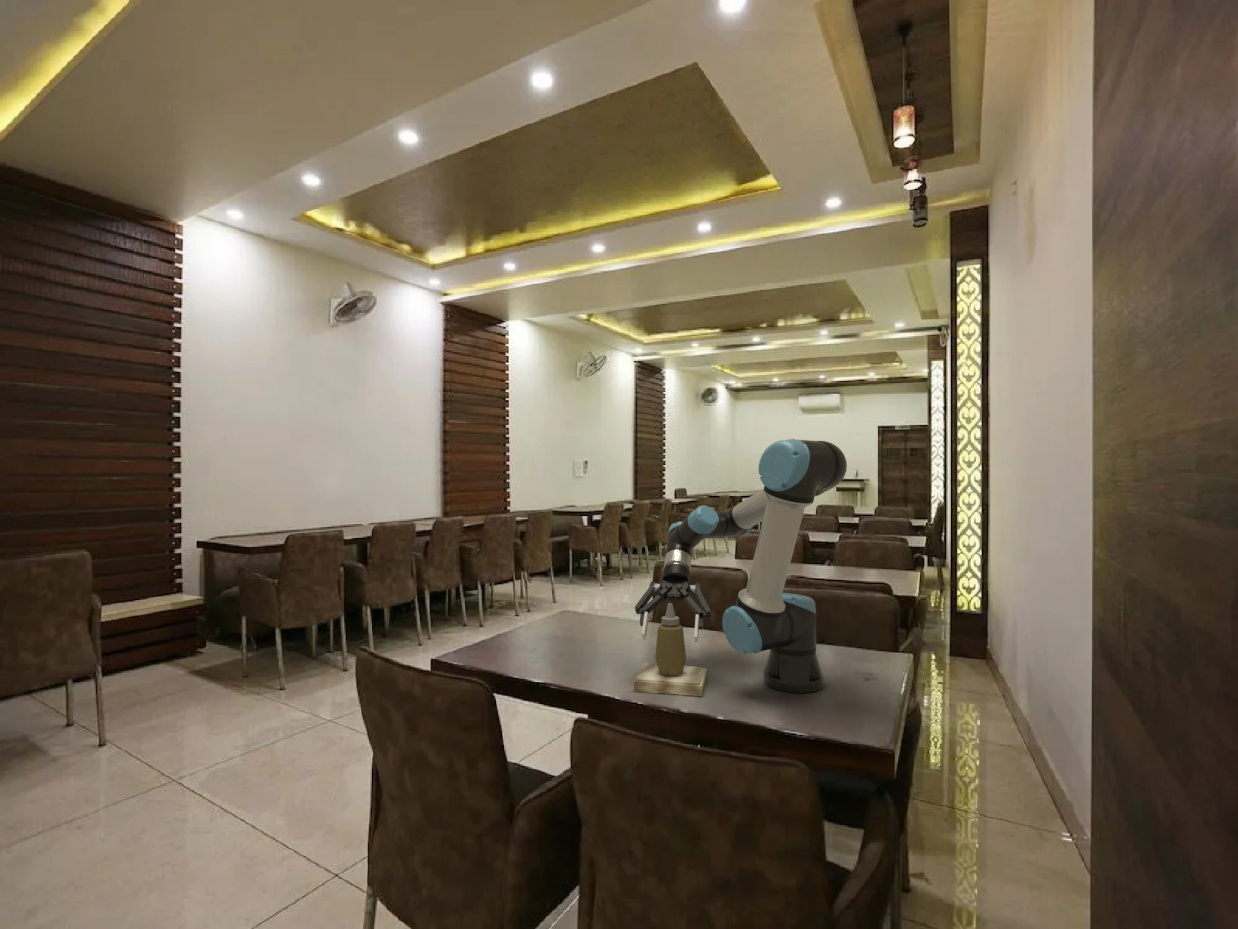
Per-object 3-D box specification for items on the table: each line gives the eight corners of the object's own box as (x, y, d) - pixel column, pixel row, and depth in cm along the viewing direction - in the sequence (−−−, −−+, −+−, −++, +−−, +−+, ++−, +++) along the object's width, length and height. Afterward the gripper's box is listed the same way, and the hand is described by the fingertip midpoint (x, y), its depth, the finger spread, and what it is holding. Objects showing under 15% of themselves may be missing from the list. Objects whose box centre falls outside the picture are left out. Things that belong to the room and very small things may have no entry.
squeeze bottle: (661, 679, 148) (660, 607, 148) (651, 669, 156) (650, 601, 156) (691, 676, 150) (690, 605, 150) (679, 666, 158) (678, 599, 158)
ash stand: (706, 678, 157) (706, 666, 158) (701, 697, 144) (701, 684, 144) (644, 673, 161) (644, 662, 161) (633, 691, 148) (633, 679, 148)
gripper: (722, 579, 165) (719, 648, 150) (635, 576, 171) (624, 642, 156) (720, 563, 160) (717, 633, 145) (631, 560, 166) (620, 627, 151)
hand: (669, 638), depth 151 cm, fingers open, 13 cm apart
